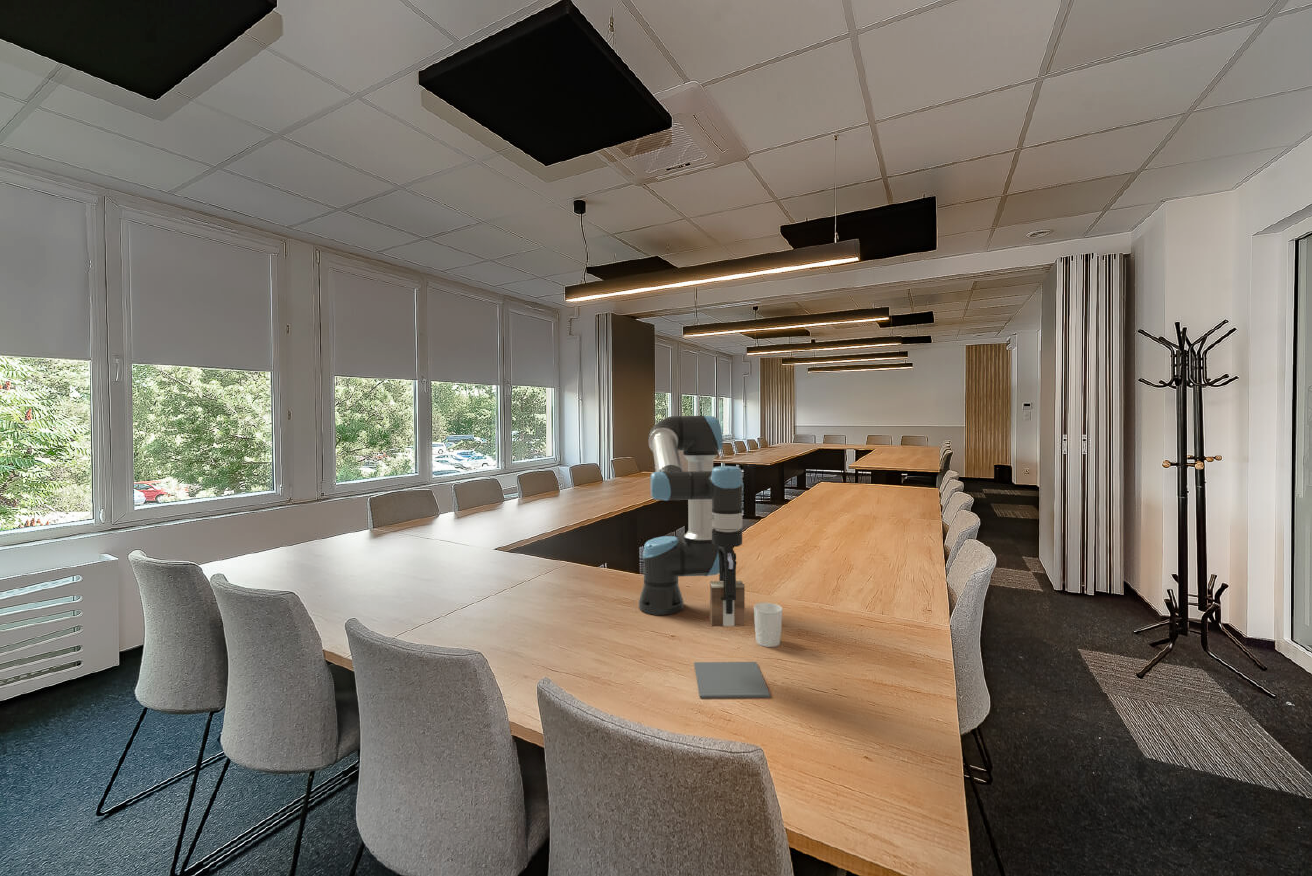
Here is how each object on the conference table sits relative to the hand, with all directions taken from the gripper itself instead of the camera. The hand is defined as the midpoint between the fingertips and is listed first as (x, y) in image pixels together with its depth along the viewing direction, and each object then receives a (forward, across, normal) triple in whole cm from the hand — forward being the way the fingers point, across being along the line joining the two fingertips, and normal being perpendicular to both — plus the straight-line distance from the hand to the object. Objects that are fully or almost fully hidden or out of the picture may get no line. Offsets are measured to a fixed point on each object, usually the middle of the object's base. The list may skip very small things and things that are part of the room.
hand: (727, 621), depth 128 cm
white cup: (+13, -17, +14) cm, 26 cm away
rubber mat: (+13, +4, 0) cm, 13 cm away
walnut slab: (0, 0, 0) cm, 0 cm away
